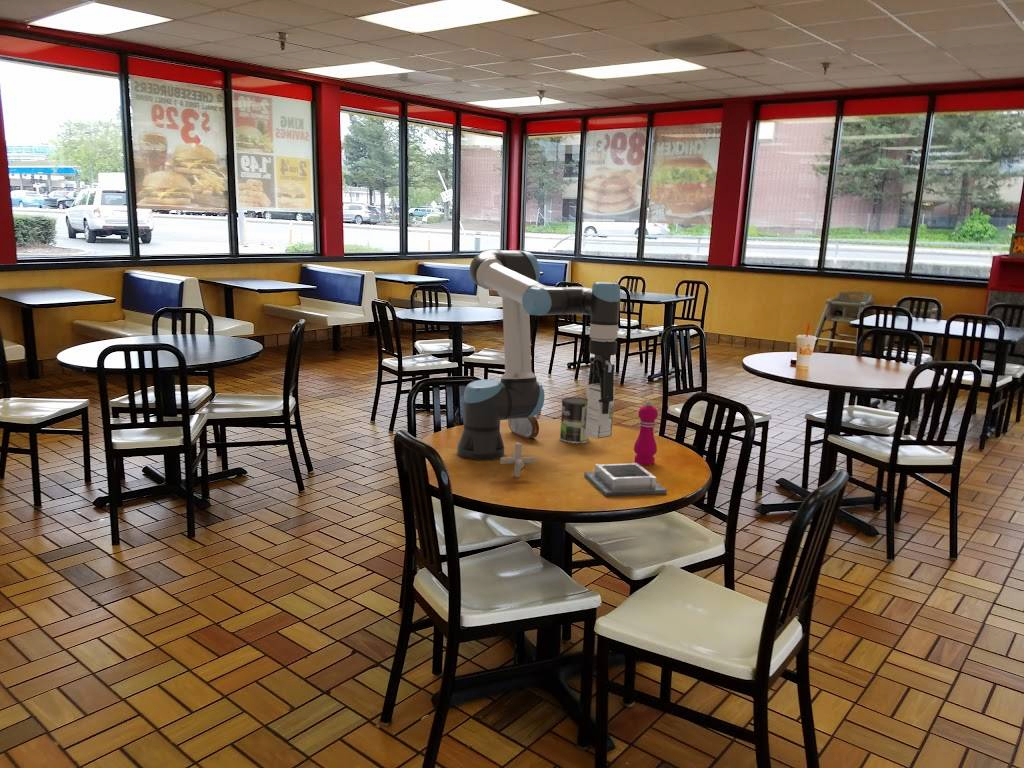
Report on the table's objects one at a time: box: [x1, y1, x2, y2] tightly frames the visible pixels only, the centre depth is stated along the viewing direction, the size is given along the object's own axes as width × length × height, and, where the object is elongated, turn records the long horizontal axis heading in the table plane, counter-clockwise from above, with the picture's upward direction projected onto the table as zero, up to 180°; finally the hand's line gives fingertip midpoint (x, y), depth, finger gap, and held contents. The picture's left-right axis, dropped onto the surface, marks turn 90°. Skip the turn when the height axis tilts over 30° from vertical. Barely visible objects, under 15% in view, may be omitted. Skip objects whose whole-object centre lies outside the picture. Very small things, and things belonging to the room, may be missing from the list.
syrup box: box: [583, 383, 616, 439], centre depth 209 cm, size 6×6×14 cm
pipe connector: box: [499, 442, 536, 478], centre depth 219 cm, size 10×10×10 cm
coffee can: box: [559, 396, 590, 444], centre depth 261 cm, size 10×10×14 cm
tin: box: [507, 416, 540, 439], centre depth 264 cm, size 15×3×8 cm, turn 37°
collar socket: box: [583, 462, 668, 498], centre depth 216 cm, size 18×18×4 cm
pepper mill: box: [633, 400, 659, 466], centre depth 237 cm, size 7×7×20 cm
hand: (598, 421), depth 209 cm, fingers closed on syrup box, 7 cm apart
